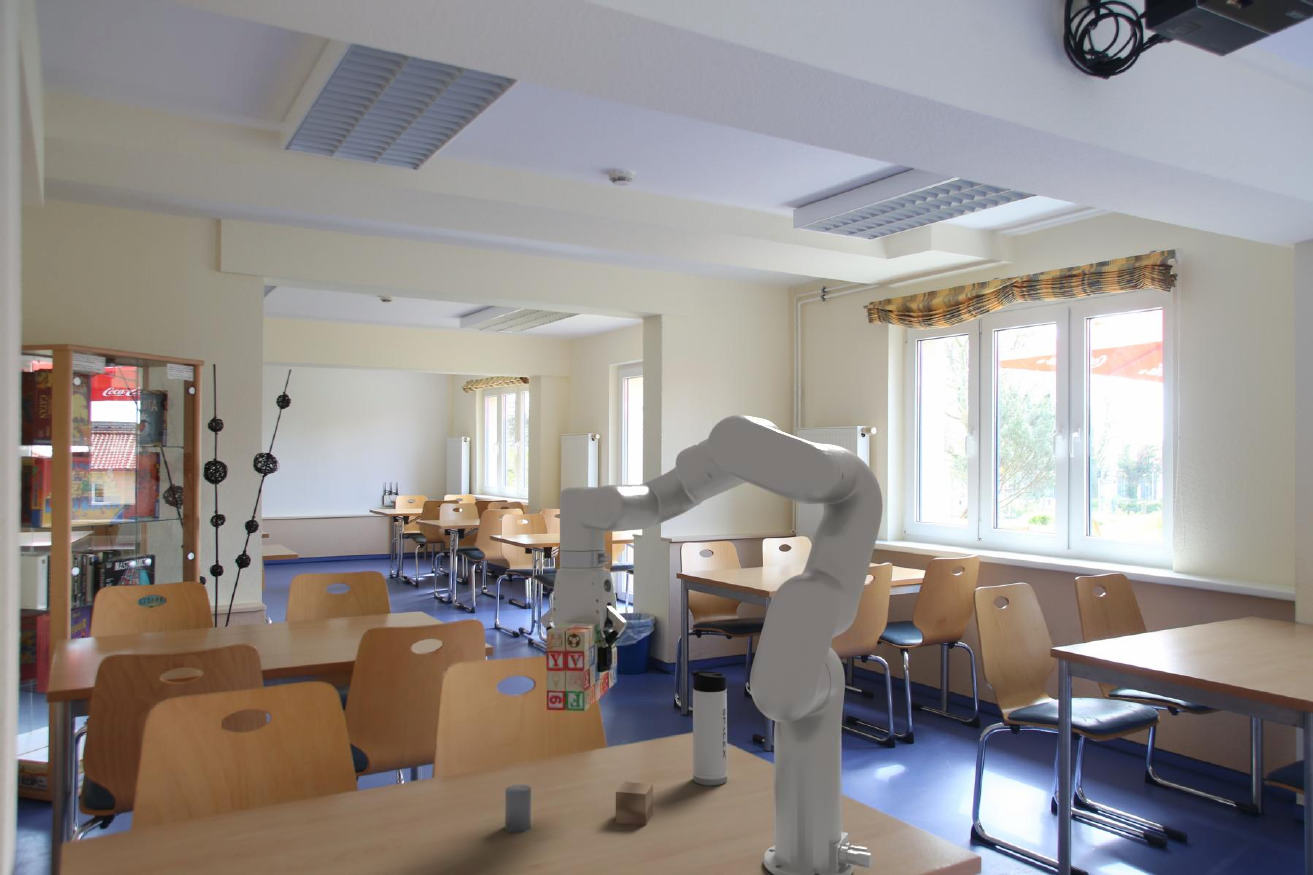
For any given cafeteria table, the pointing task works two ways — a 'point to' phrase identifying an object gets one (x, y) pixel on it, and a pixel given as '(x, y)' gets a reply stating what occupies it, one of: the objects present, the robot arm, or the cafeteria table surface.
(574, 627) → the stack of blocks
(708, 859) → the cafeteria table surface
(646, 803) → the walnut cube
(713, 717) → the travel mug
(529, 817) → the dark grey cylinder
